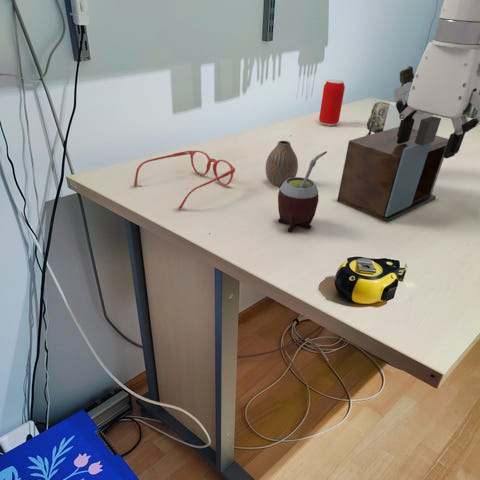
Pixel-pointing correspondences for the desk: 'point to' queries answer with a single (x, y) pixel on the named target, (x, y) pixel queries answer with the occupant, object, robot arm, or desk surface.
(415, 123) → the cosmetic box
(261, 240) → the desk surface
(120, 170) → the desk surface
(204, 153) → the red eyeglasses
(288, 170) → the vase
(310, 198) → the mate gourd
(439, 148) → the cabinet
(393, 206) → the sliding door
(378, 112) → the camouflage trail camera
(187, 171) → the desk surface
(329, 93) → the beverage can
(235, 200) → the desk surface
